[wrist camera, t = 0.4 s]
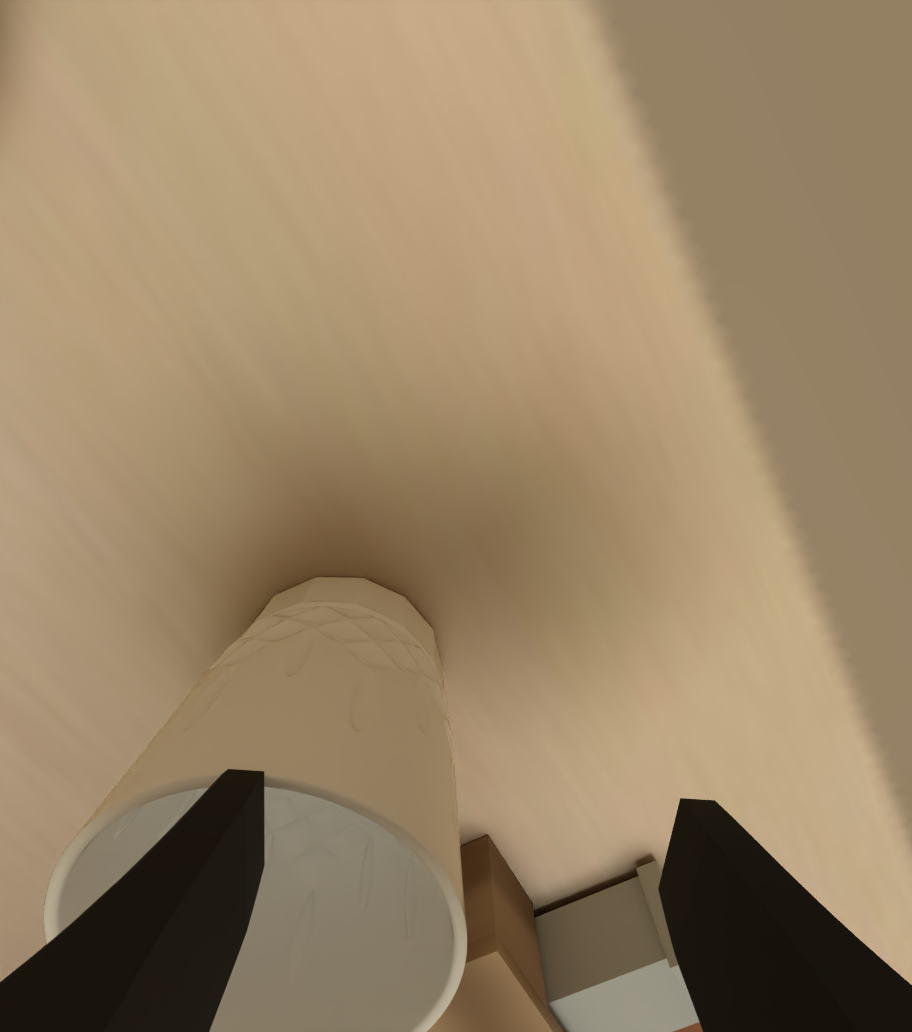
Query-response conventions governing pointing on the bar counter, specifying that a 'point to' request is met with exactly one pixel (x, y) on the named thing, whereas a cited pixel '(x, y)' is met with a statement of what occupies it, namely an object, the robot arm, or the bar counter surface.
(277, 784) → the white cup
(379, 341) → the bar counter surface
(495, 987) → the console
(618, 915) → the plunger grey
